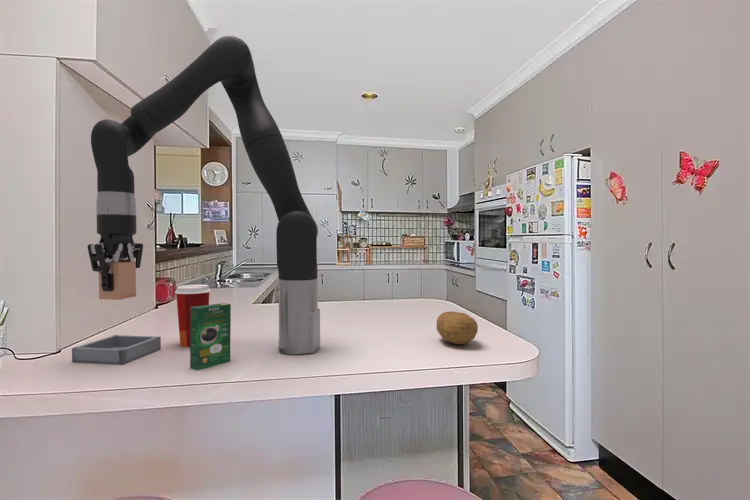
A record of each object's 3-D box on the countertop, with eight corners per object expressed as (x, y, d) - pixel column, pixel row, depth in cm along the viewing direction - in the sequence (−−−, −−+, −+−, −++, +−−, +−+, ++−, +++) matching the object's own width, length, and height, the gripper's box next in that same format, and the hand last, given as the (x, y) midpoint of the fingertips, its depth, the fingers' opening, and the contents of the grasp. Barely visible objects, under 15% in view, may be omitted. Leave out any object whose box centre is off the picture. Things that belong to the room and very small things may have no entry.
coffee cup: (217, 341, 107) (216, 284, 106) (200, 350, 98) (200, 288, 98) (186, 341, 107) (185, 283, 107) (167, 349, 99) (166, 287, 99)
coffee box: (224, 360, 91) (223, 301, 90) (232, 363, 89) (231, 302, 88) (189, 370, 84) (188, 306, 84) (197, 373, 82) (196, 308, 82)
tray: (160, 351, 98) (160, 336, 98) (123, 367, 86) (122, 350, 86) (115, 349, 99) (115, 334, 99) (72, 364, 88) (71, 348, 87)
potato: (459, 335, 114) (460, 306, 114) (486, 348, 100) (487, 316, 100) (427, 337, 111) (427, 308, 111) (450, 351, 98) (450, 318, 98)
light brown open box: (136, 296, 94) (135, 261, 94) (119, 299, 89) (119, 263, 89) (116, 295, 95) (115, 261, 95) (99, 299, 90) (98, 262, 90)
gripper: (106, 211, 84) (108, 294, 85) (153, 215, 98) (154, 286, 99) (74, 211, 85) (75, 293, 86) (125, 215, 99) (126, 285, 100)
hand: (118, 289), depth 92 cm, fingers closed on light brown open box, 5 cm apart
